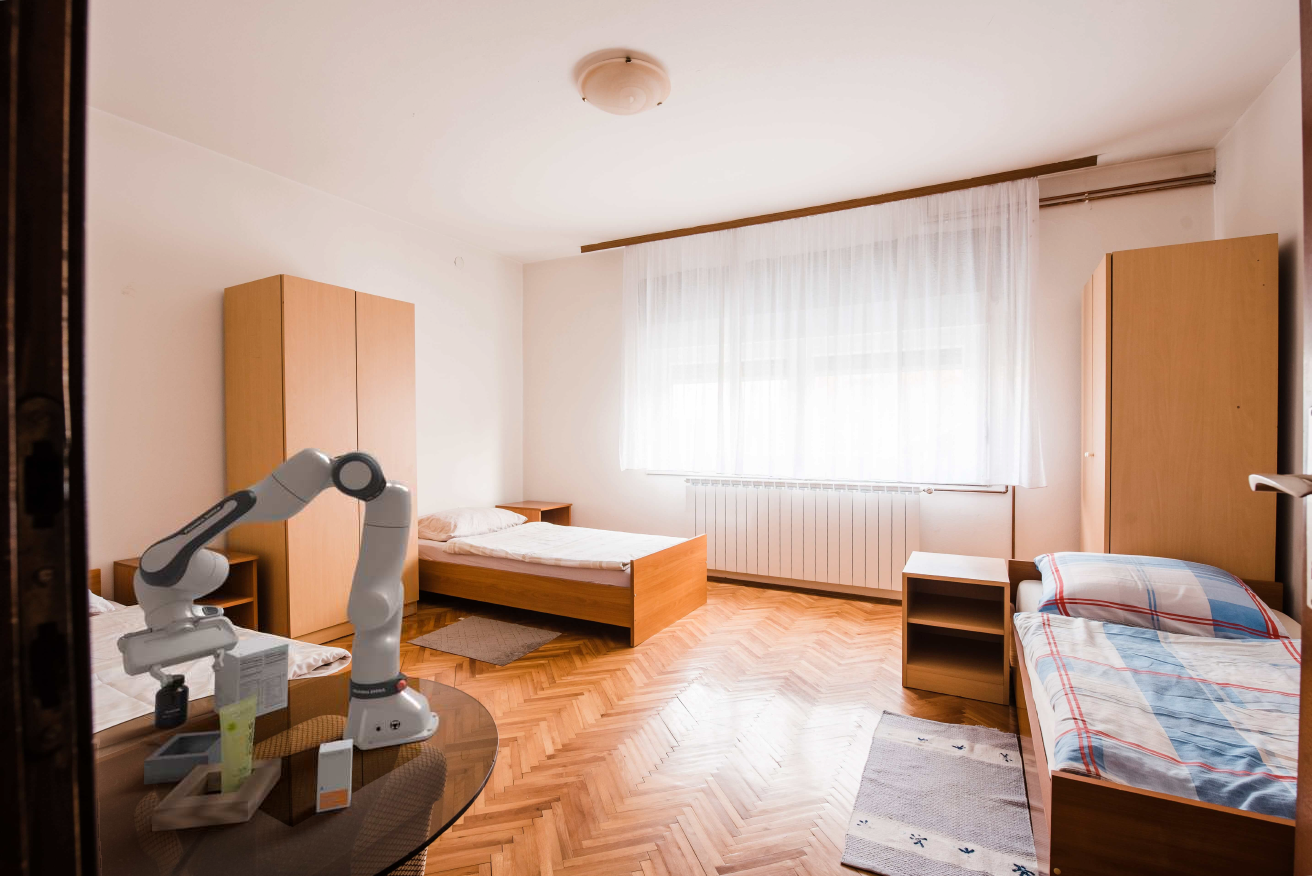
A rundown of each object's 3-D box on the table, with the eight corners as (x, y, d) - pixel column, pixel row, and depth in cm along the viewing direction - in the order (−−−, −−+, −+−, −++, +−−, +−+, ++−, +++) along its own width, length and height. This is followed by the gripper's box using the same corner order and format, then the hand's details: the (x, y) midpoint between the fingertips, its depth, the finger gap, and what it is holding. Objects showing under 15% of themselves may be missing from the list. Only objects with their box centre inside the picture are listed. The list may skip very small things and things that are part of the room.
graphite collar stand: (234, 750, 142) (234, 729, 142) (207, 778, 130) (208, 755, 130) (176, 755, 139) (176, 734, 140) (143, 784, 128) (144, 760, 128)
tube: (243, 802, 122) (247, 705, 122) (214, 805, 121) (219, 707, 121) (253, 786, 127) (257, 694, 128) (226, 789, 126) (230, 696, 126)
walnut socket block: (280, 776, 132) (281, 758, 132) (247, 821, 116) (248, 800, 116) (197, 784, 128) (198, 765, 128) (152, 831, 113) (152, 809, 113)
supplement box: (288, 706, 166) (290, 643, 166) (235, 724, 155) (236, 657, 155) (265, 695, 173) (266, 634, 174) (212, 711, 162) (213, 647, 162)
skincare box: (316, 814, 119) (317, 753, 119) (318, 802, 122) (319, 743, 123) (350, 807, 121) (351, 747, 121) (351, 795, 125) (353, 737, 125)
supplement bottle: (168, 731, 151) (170, 683, 151) (147, 728, 152) (148, 681, 152) (194, 719, 158) (196, 673, 158) (173, 716, 159) (174, 671, 159)
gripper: (119, 627, 123) (138, 685, 118) (229, 605, 141) (250, 654, 136) (109, 645, 125) (128, 702, 120) (219, 621, 143) (240, 670, 138)
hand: (194, 676), depth 128 cm, fingers open, 8 cm apart
